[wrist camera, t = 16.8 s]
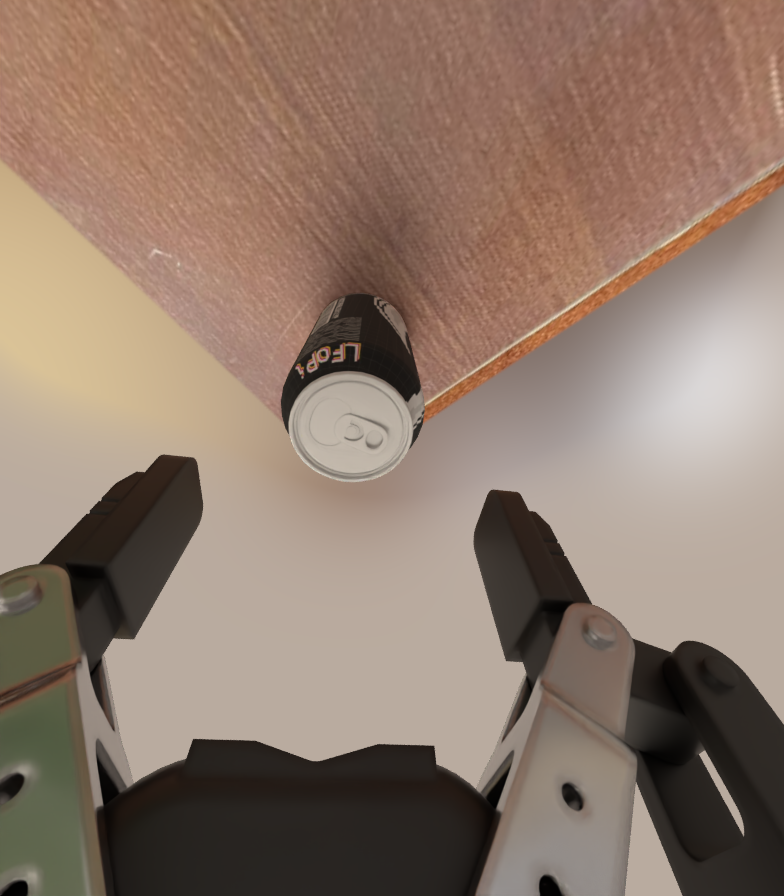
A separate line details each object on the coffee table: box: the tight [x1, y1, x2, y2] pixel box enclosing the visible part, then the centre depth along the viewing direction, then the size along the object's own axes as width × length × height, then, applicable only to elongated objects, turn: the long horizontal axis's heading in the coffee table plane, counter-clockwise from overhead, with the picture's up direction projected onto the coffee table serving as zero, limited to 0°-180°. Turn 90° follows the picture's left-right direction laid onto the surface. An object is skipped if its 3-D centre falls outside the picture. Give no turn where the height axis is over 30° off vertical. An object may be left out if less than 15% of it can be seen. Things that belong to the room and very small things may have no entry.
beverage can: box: [281, 293, 425, 482], centre depth 19 cm, size 6×6×12 cm
